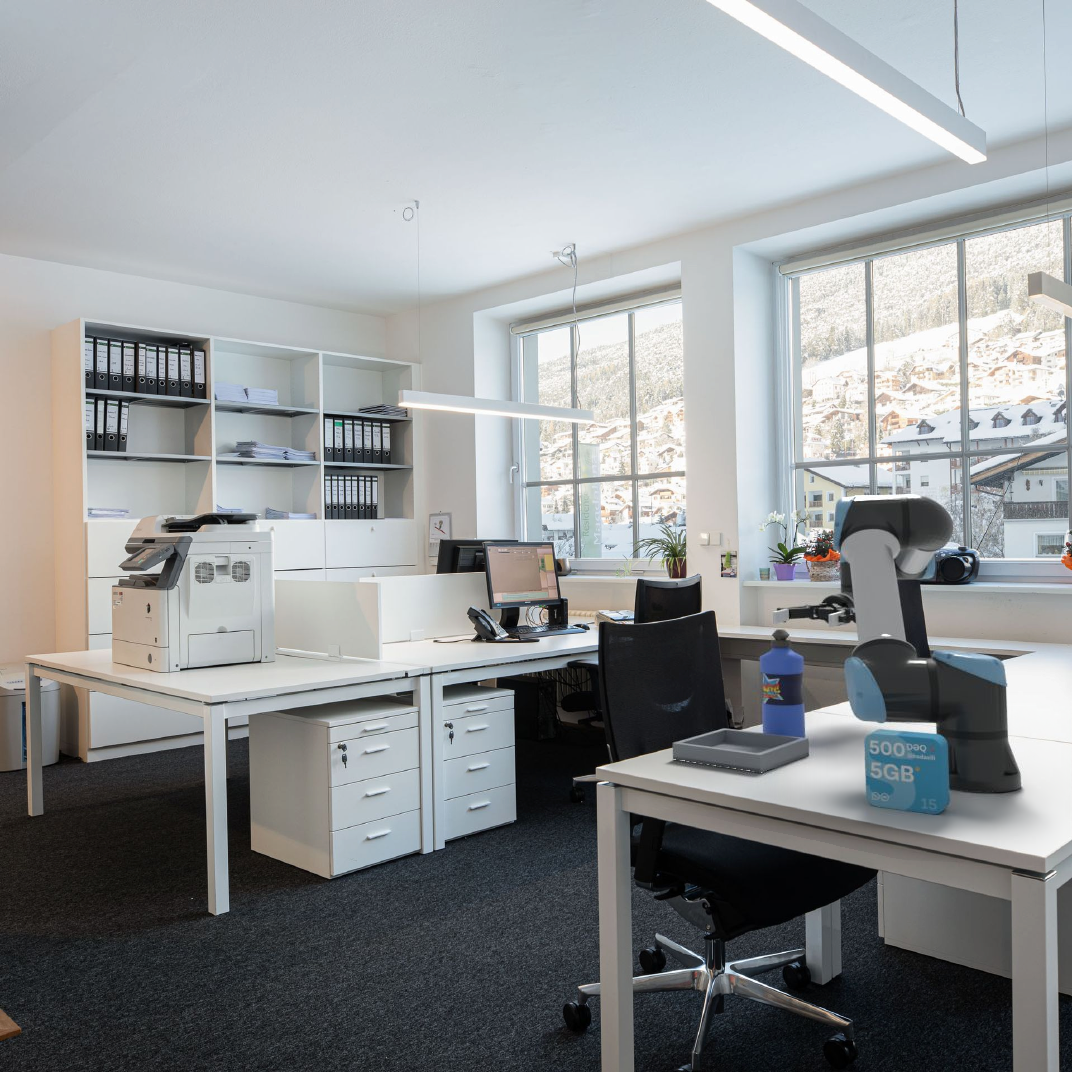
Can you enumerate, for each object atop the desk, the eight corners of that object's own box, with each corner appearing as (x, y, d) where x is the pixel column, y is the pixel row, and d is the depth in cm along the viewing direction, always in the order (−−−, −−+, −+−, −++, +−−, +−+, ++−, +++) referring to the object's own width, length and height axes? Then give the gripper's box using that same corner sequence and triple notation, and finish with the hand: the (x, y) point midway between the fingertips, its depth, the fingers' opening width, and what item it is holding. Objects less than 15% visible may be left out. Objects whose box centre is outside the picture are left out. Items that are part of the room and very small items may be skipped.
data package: (866, 805, 152) (863, 732, 152) (874, 799, 156) (871, 728, 156) (943, 816, 145) (940, 739, 145) (950, 809, 149) (947, 734, 149)
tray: (760, 773, 176) (760, 755, 176) (673, 760, 190) (672, 743, 190) (808, 755, 191) (808, 738, 191) (724, 744, 204) (723, 728, 205)
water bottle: (783, 749, 198) (779, 632, 198) (753, 742, 206) (749, 629, 206) (815, 744, 202) (811, 629, 203) (784, 737, 210) (781, 627, 211)
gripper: (892, 627, 219) (855, 639, 203) (793, 621, 235) (753, 632, 220) (891, 595, 219) (854, 605, 203) (792, 592, 235) (751, 600, 219)
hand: (801, 619), depth 211 cm, fingers open, 13 cm apart
